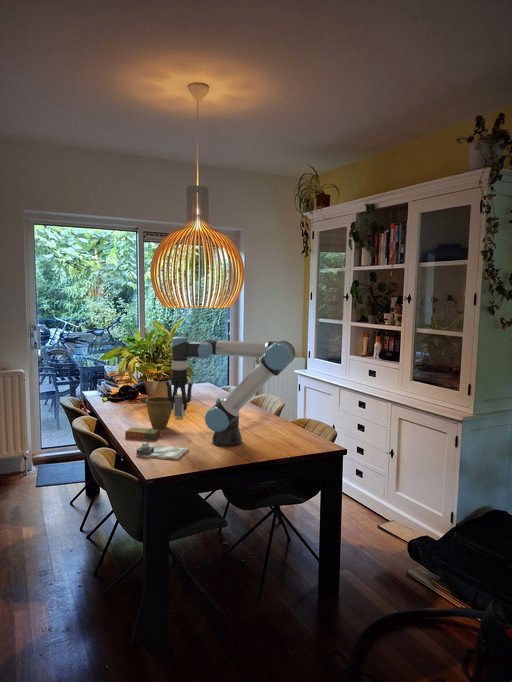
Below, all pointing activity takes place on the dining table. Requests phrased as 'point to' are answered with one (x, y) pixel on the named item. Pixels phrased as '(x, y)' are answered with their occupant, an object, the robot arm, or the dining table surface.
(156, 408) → the plant pot
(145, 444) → the button
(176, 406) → the grey rectangular bar
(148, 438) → the carton
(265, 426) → the dining table surface
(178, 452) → the white tray
